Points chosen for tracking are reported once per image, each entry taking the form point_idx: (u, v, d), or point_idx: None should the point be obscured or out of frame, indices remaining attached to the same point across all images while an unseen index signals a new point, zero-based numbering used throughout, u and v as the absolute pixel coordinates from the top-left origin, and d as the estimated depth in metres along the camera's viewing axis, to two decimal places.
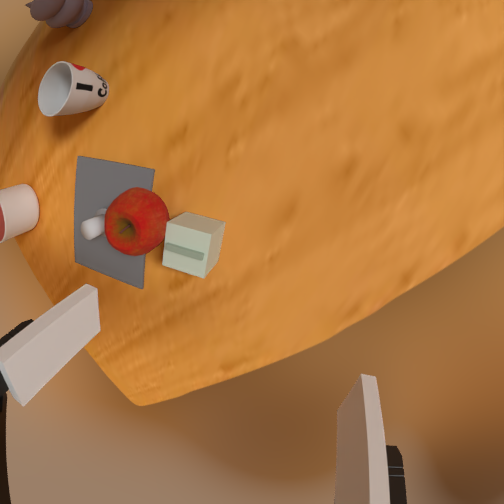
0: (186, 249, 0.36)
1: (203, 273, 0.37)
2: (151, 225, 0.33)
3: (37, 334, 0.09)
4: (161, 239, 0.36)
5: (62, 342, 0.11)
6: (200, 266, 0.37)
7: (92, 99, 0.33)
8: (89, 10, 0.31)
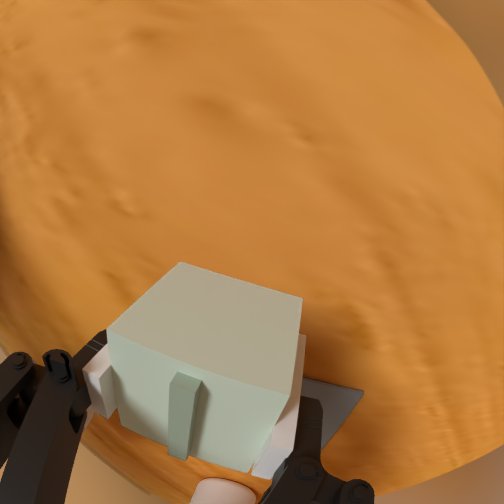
0: None
1: (266, 393, 0.08)
2: None
3: None
4: None
5: None
6: (235, 395, 0.08)
7: None
8: None
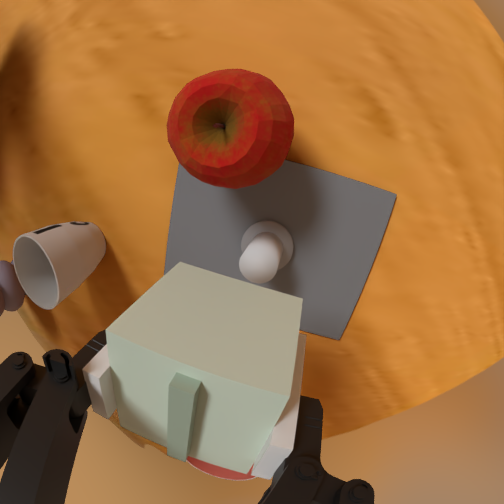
0: None
1: (266, 394, 0.08)
2: (218, 72, 0.15)
3: None
4: (264, 77, 0.17)
5: None
6: (235, 397, 0.08)
7: (75, 230, 0.27)
8: None
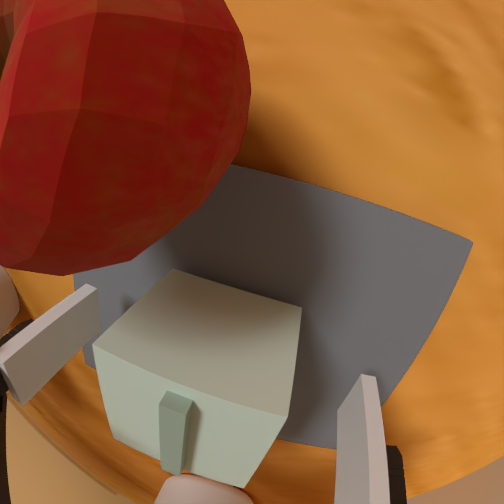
0: None
1: (262, 414, 0.07)
2: None
3: (37, 334, 0.09)
4: None
5: (62, 342, 0.11)
6: (229, 416, 0.07)
7: None
8: None
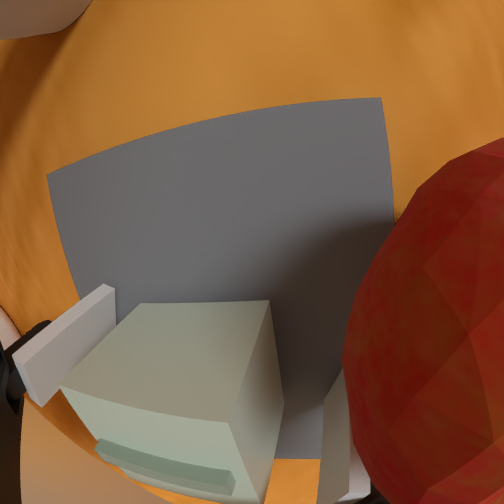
0: (160, 467, 0.07)
1: (255, 502, 0.07)
2: None
3: (57, 335, 0.09)
4: None
5: (80, 342, 0.11)
6: (236, 492, 0.07)
7: None
8: None
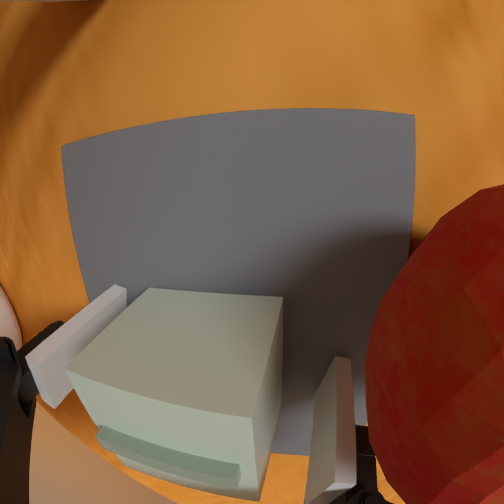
0: (166, 458, 0.07)
1: (254, 495, 0.08)
2: None
3: (71, 335, 0.10)
4: None
5: None
6: (238, 485, 0.08)
7: None
8: None
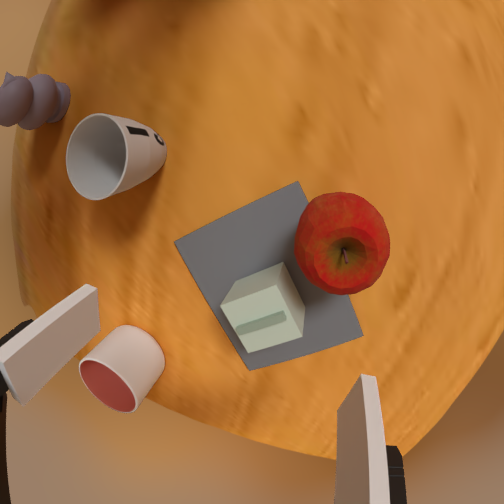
0: (261, 319, 0.27)
1: (298, 331, 0.27)
2: (379, 226, 0.21)
3: (37, 334, 0.09)
4: None
5: (62, 342, 0.11)
6: (289, 326, 0.27)
7: (155, 148, 0.27)
8: (66, 89, 0.31)
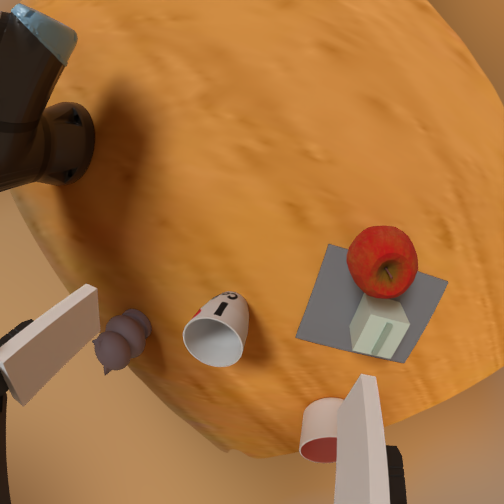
0: (380, 337, 0.34)
1: (405, 324, 0.33)
2: (391, 240, 0.28)
3: (37, 334, 0.09)
4: (406, 235, 0.30)
5: (62, 342, 0.11)
6: (398, 326, 0.34)
7: (237, 305, 0.40)
8: (136, 311, 0.50)
